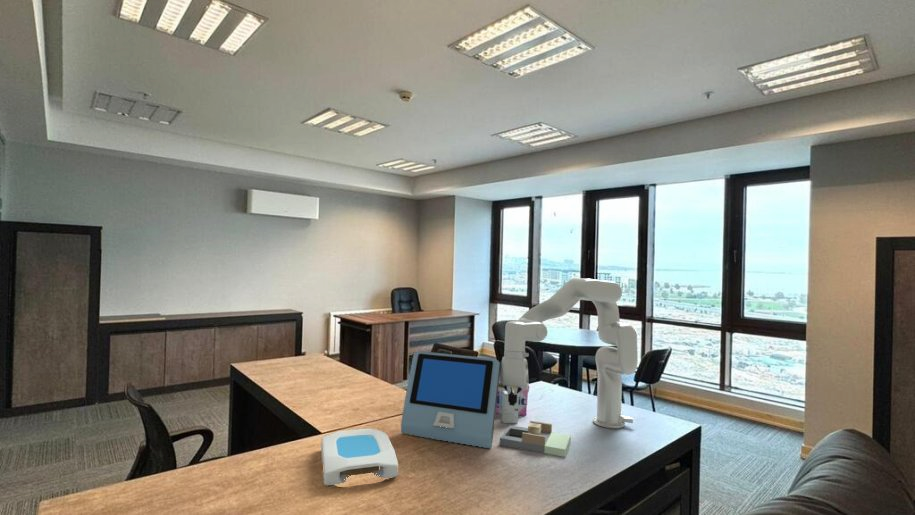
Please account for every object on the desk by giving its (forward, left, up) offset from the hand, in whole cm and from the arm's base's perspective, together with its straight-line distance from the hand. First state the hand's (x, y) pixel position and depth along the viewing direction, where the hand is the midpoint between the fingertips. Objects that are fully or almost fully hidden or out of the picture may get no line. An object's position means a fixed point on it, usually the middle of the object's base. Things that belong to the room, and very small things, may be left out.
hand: (512, 404), depth 161 cm
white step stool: (+40, +41, -13) cm, 58 cm away
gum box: (+13, -30, -13) cm, 35 cm away
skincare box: (+6, -18, -13) cm, 23 cm away
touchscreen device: (+22, +5, -13) cm, 26 cm away
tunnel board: (-9, 0, -13) cm, 16 cm away
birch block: (-8, 0, -10) cm, 13 cm away
